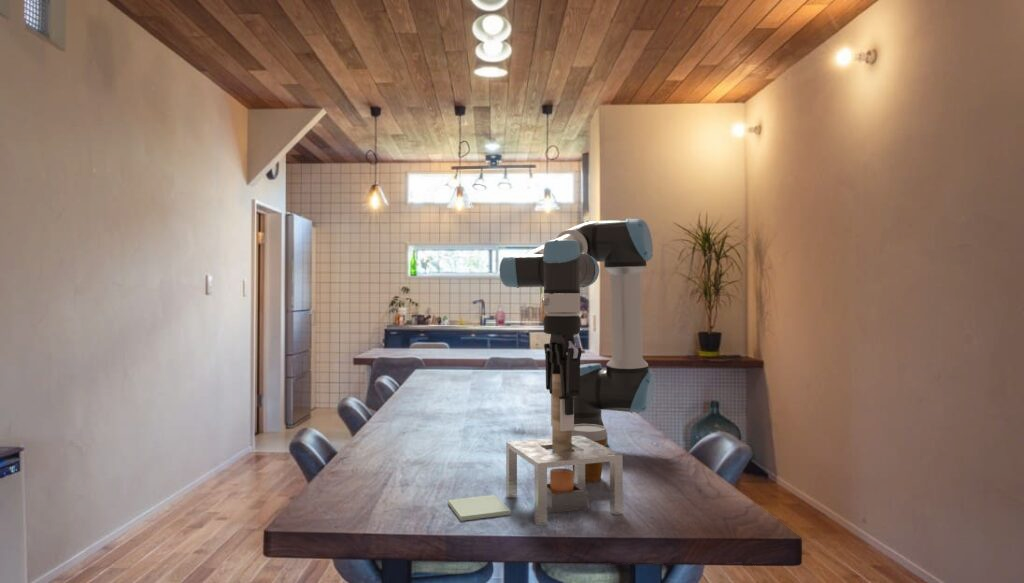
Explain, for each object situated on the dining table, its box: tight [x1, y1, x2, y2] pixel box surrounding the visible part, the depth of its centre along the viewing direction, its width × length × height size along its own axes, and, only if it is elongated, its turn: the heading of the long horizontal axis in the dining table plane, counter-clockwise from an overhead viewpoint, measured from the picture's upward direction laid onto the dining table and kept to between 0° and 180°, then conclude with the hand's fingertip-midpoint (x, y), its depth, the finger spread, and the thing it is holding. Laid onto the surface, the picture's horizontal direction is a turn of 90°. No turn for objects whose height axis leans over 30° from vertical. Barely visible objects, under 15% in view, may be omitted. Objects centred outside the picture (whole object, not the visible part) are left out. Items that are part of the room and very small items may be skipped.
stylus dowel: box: [551, 373, 572, 454], centre depth 123 cm, size 4×4×18 cm
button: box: [549, 467, 574, 493], centre depth 123 cm, size 5×5×6 cm
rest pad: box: [447, 494, 511, 522], centre depth 120 cm, size 10×10×1 cm
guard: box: [505, 435, 624, 526], centre depth 123 cm, size 18×18×12 cm
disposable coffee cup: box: [571, 424, 609, 484], centre depth 140 cm, size 10×10×12 cm
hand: (562, 427), depth 123 cm, fingers closed on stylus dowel, 4 cm apart
